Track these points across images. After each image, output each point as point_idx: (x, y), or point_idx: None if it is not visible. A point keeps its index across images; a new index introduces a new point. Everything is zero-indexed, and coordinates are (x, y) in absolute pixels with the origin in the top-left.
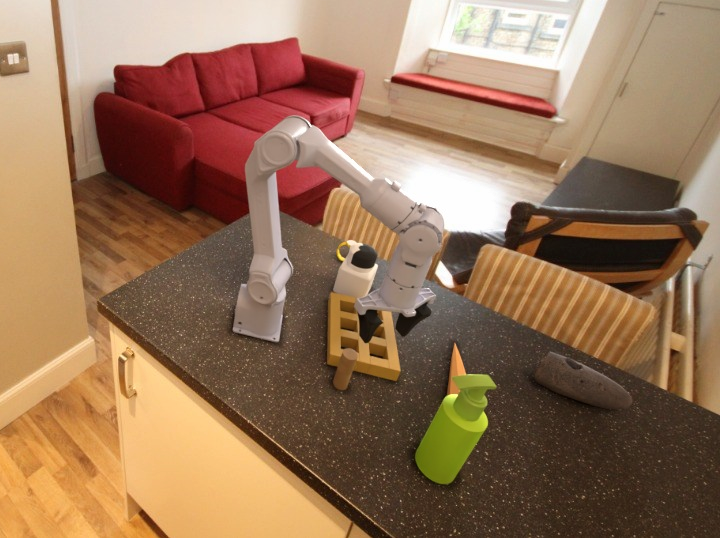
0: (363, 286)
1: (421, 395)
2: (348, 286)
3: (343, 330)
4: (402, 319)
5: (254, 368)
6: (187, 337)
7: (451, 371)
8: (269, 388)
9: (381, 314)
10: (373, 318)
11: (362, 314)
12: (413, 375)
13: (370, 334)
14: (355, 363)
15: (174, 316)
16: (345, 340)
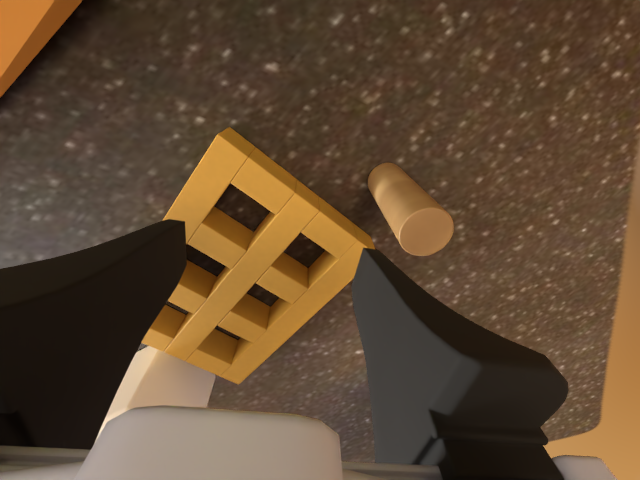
0: (150, 389)
1: (181, 50)
2: (184, 388)
3: (288, 298)
4: (148, 300)
5: (517, 278)
6: (558, 360)
7: (10, 61)
8: (534, 230)
9: None
10: (507, 405)
11: (582, 457)
12: (161, 121)
13: (406, 281)
14: (407, 199)
15: None
16: (296, 274)
